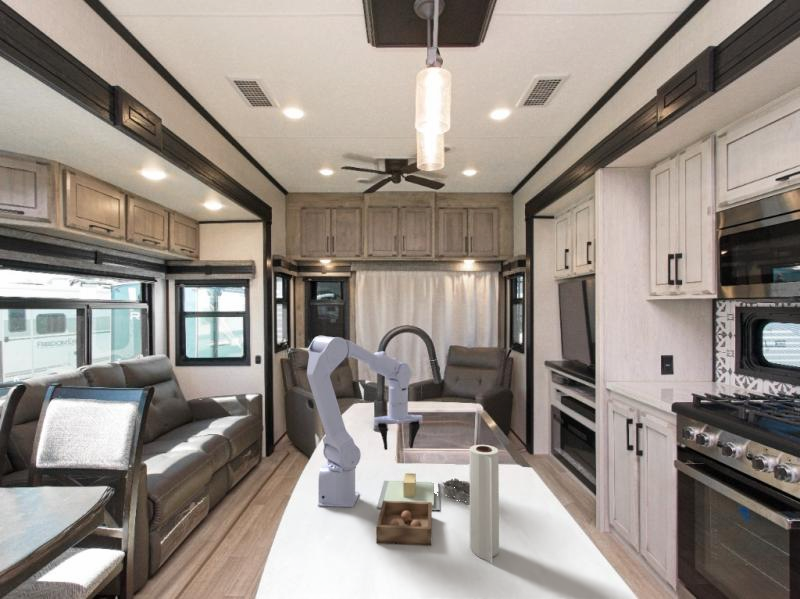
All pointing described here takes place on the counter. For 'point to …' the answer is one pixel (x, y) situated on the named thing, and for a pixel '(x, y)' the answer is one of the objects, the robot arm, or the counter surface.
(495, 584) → the counter surface
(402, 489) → the lid
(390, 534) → the box base
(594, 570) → the counter surface
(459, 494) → the egg carton
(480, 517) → the paper towel roll
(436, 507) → the mat
